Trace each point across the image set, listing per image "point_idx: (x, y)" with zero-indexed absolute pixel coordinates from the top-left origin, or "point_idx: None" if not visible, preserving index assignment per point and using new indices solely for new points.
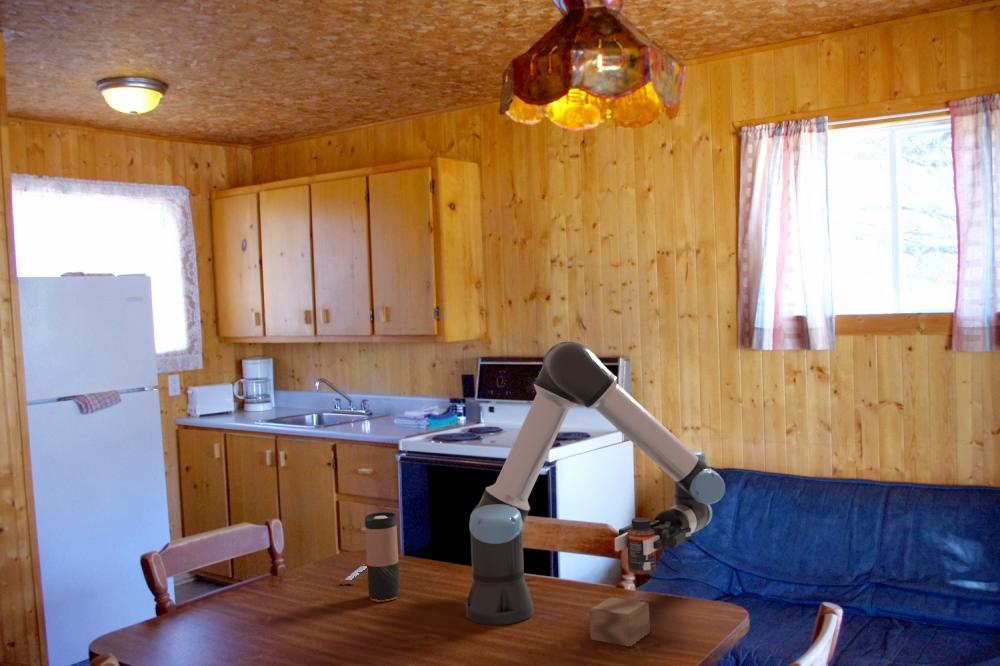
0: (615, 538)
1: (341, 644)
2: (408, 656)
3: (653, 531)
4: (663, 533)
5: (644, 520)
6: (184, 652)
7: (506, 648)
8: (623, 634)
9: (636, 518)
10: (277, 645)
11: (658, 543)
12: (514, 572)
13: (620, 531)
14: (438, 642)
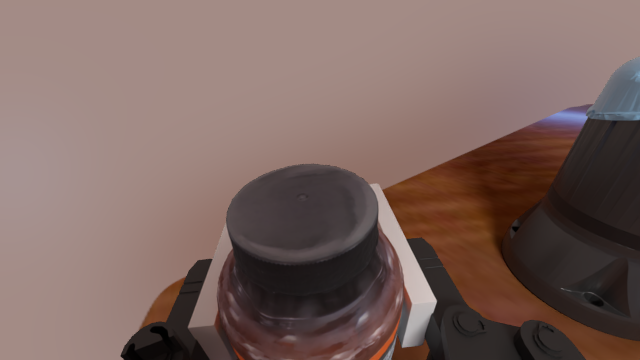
0: (375, 184)
1: (529, 149)
2: (458, 158)
3: (220, 280)
4: (146, 326)
5: (260, 185)
6: (566, 115)
7: (412, 197)
8: None
9: (348, 200)
10: (553, 134)
11: (196, 268)
12: (562, 193)
13: (523, 323)
14: (481, 179)
